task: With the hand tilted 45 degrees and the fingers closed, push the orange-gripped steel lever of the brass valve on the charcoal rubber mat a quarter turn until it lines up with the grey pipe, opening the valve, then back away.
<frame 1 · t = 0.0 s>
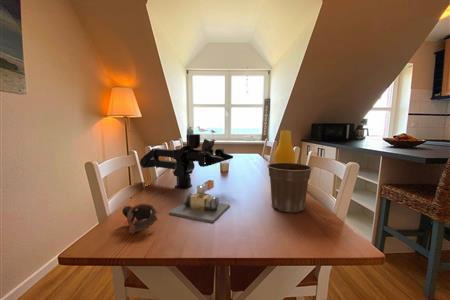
hand: (228, 158, 93), 17 cm above the table, tool horizontal, fingers open, 9 cm apart
plant pot: (287, 207, 81), on the table
pottery mug: (140, 227, 64), on the table
valve lever: (205, 187, 80), point 8 cm above the table, hinge at 90.0°
rubber mat: (200, 210, 77), on the table
yellow bottle: (283, 193, 97), on the table
valve body: (200, 200, 77), on the rubber mat, point 4 cm above the table
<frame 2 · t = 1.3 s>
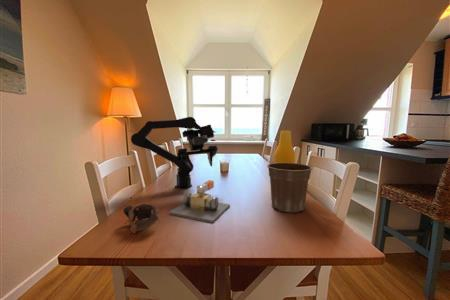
hand: (202, 167, 95), 12 cm above the table, tool tilted 45°, fingers open, 9 cm apart
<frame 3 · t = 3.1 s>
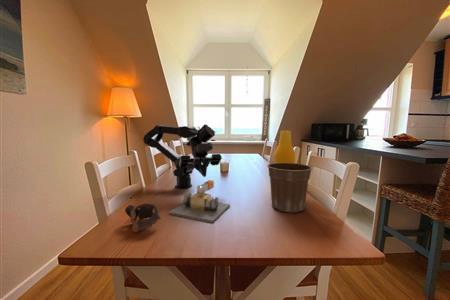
hand: (205, 176, 90), 9 cm above the table, tool tilted 45°, fingers closed
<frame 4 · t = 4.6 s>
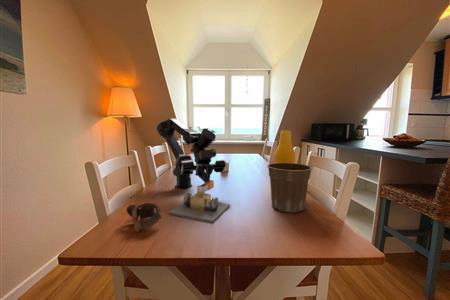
hand: (208, 184, 85), 7 cm above the table, tool tilted 45°, fingers closed
valve lever: (205, 187, 80), point 8 cm above the table, hinge at 90.0°, touching gripper
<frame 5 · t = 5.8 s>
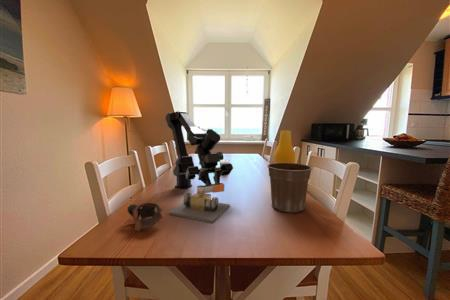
hand: (215, 190, 80), 6 cm above the table, tool tilted 45°, fingers closed on valve lever, 2 cm apart
valve lever: (210, 188, 78), point 8 cm above the table, hinge at 46.6°, touching gripper
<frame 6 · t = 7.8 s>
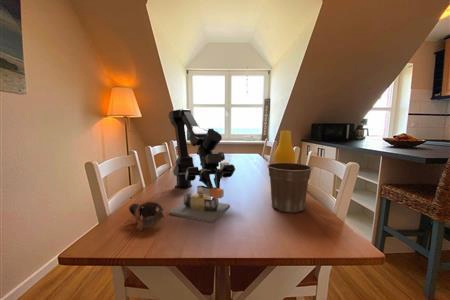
hand: (215, 192, 76), 7 cm above the table, tool tilted 45°, fingers closed
valve lever: (209, 191, 74), point 8 cm above the table, hinge at -5.8°
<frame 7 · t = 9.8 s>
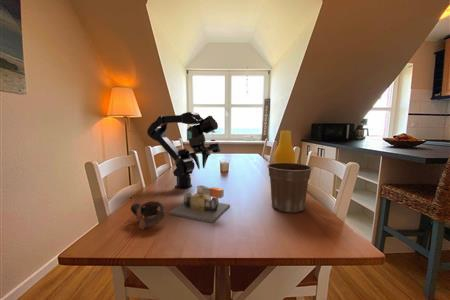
hand: (201, 168, 92), 12 cm above the table, tool tilted 30°, fingers closed
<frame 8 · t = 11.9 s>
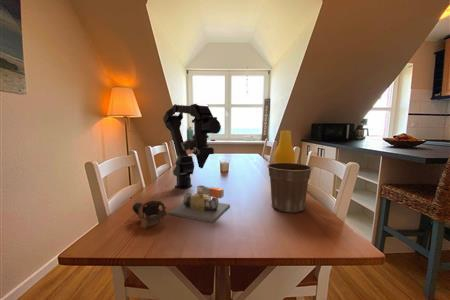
hand: (200, 167, 94), 12 cm above the table, tool pointing down, fingers closed
at the end: valve lever at -6° (first picture: +90°); the gripper is holding nothing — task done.
